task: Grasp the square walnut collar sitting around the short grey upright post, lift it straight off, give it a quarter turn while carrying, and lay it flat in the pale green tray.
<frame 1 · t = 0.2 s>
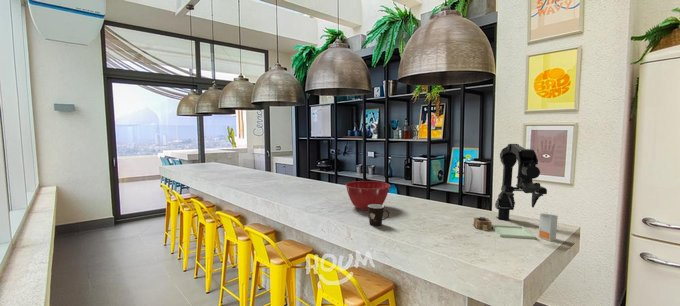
hand: (522, 206, 157), 14 cm above the worktop, tool pointing down, fingers open, 9 cm apart
collar: (482, 227, 169), resting on grey upright post
tray: (511, 233, 161), on the worktop
grey upright post: (482, 228, 169), on the worktop
skincare box: (547, 239, 154), on the worktop
coffee mug: (377, 225, 172), on the worktop
mixing bowl: (367, 208, 208), on the worktop
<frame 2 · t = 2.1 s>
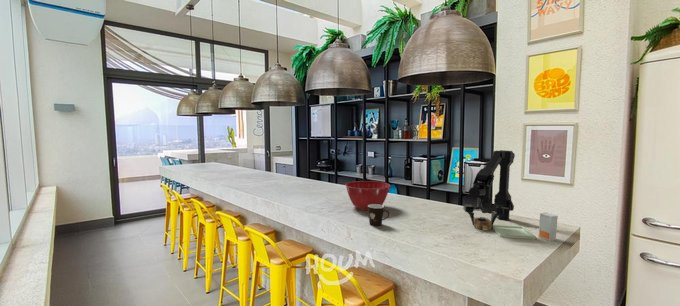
hand: (482, 225, 169), 2 cm above the worktop, tool pointing down, fingers open, 9 cm apart
nothing on the worktop moved.
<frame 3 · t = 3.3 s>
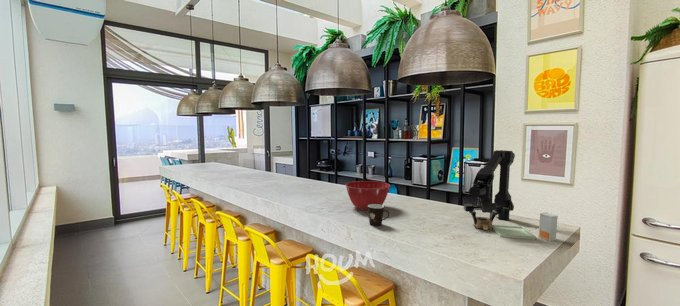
hand: (482, 224, 169), 2 cm above the worktop, tool pointing down, fingers closed on collar, 7 cm apart
collar: (482, 226, 169), point 1 cm above the worktop, touching gripper
everything else where it was.
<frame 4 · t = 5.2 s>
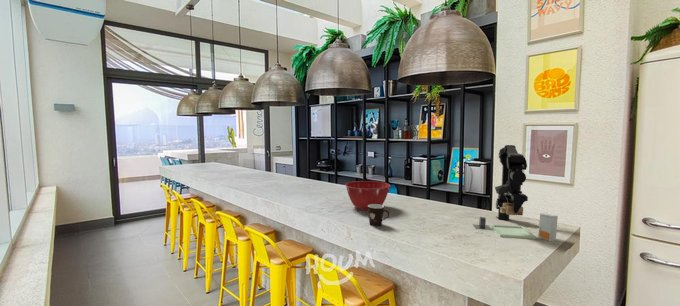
hand: (512, 211, 160), 11 cm above the worktop, tool pointing down, fingers closed on collar, 7 cm apart
collar: (512, 212, 160), point 10 cm above the worktop, touching gripper
everything else where it was.
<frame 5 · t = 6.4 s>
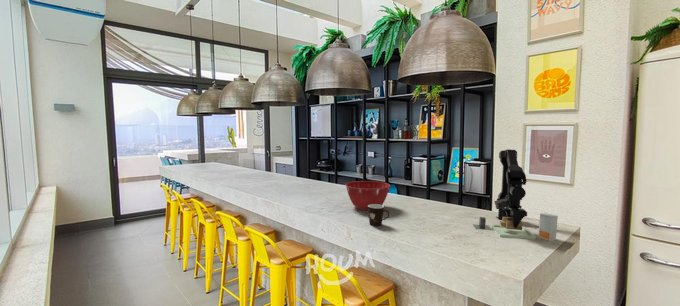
hand: (512, 225, 161), 4 cm above the worktop, tool pointing down, fingers closed on collar, 7 cm apart
collar: (511, 227, 161), point 3 cm above the worktop, touching gripper
everything else where it was.
when the fingers open (3 cm above the worktop, at t = 7.2 s): collar drops 1 cm, resting on tray.
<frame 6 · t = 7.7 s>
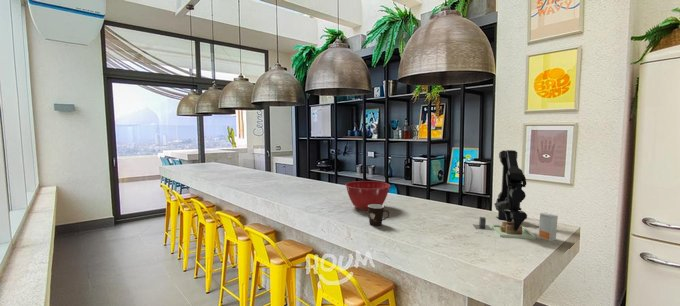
hand: (512, 227, 161), 3 cm above the worktop, tool pointing down, fingers open, 9 cm apart
collar: (511, 231, 161), point 1 cm above the worktop, touching tray
everything else where it was.
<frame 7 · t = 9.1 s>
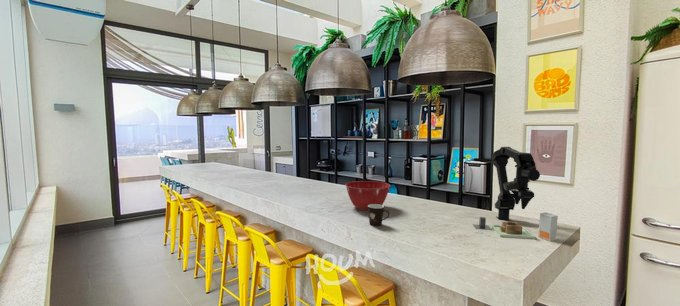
hand: (519, 206, 168), 12 cm above the worktop, tool pointing down, fingers open, 9 cm apart
nothing on the worktop moved.
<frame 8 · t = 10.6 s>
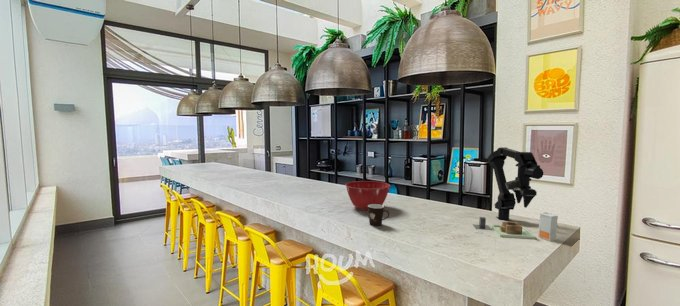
hand: (521, 205, 170), 12 cm above the worktop, tool pointing down, fingers open, 9 cm apart
nothing on the worktop moved.
at the end: collar inside the target area on the tray (0.1 cm from its centre), point 0.8 cm above the tray's base; collar tilted 0°; the gripper is holding nothing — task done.
